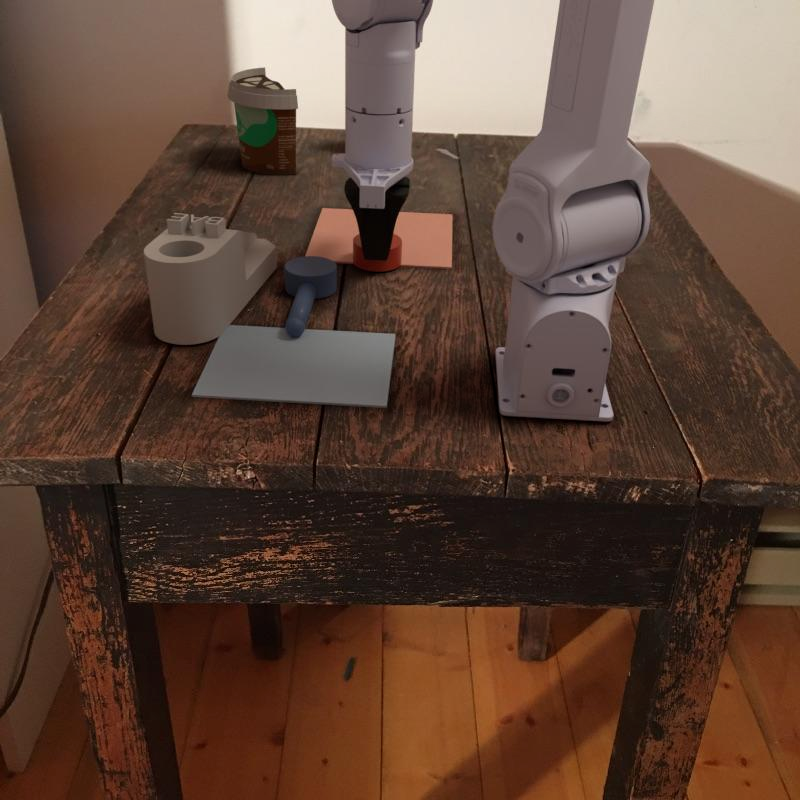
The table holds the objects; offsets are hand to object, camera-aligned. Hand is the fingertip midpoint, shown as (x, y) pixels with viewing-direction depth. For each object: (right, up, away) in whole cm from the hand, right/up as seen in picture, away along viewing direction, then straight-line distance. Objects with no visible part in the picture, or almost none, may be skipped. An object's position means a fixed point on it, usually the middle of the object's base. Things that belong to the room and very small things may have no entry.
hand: (376, 258), depth 84 cm
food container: (-15, +15, +27) cm, 34 cm away
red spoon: (0, +2, +6) cm, 6 cm away
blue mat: (-5, -10, -14) cm, 18 cm away
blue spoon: (-6, -5, -6) cm, 10 cm away
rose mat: (0, +3, +8) cm, 9 cm away
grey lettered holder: (-14, -4, -5) cm, 15 cm away
